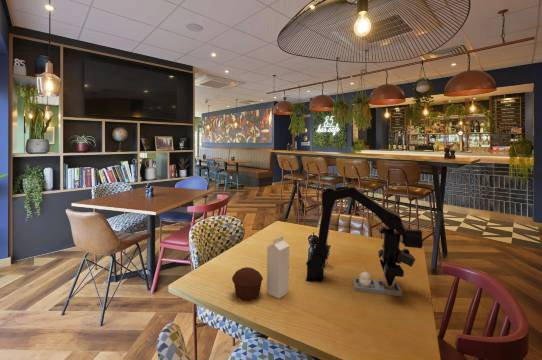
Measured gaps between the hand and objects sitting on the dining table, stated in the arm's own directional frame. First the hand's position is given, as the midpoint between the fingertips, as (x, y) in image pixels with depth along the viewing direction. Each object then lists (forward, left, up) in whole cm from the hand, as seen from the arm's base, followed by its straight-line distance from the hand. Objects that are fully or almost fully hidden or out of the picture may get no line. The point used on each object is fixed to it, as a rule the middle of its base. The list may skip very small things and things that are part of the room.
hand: (388, 282), depth 113 cm
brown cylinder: (0, 0, -1) cm, 1 cm away
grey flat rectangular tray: (-4, 0, -3) cm, 5 cm away
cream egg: (-9, 0, -3) cm, 9 cm away
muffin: (-53, -15, -3) cm, 55 cm away
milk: (-42, -11, -3) cm, 44 cm away
